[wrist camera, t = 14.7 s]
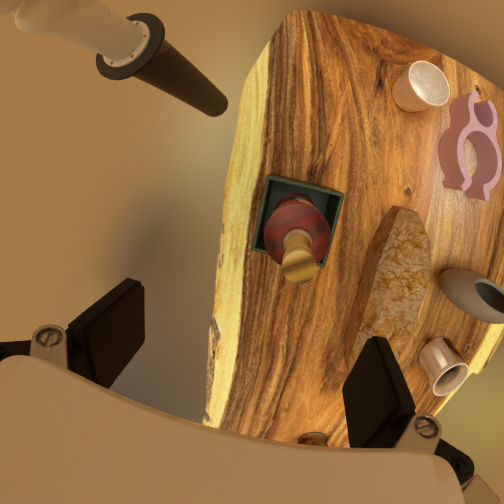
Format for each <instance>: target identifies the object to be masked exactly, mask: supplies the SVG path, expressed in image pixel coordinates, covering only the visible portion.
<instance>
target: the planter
mask: <svg viewBox="0 0 504 504" xmlns="http://www.w3.org/2000/svg"><path fill="white" fill-rule="evenodd" d="M439 285H440V288H441V290H442V291H443V293H444V294H445V296H446V297H447V298H448V299H449V300H450V301H451V302H452V303H453V304H454V305H455V306H457V307H458V308H459V309H461V310H462V311H464V312H465V313H467V314H469V315H470V316H472V317H474V318H476V319H479V320H481V321H484V322H487V323H492V324H502V323H504V290H503V289H502V288H501V287H500V286H499V285H497V284H496V283H494V282H493V281H491V280H490V279H488V278H486V277H484V276H482V275H480V274H478V273H475V272H473V271H469V270H465V269H448V270H446V271H444V272H442V273H441V274H440V276H439Z"/></svg>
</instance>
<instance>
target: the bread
mask: <svg viewBox="0 0 504 504" xmlns="http://www.w3.org/2000/svg"><path fill="white" fill-rule="evenodd" d="M430 275H431V254H430V242H429V238H428V236H427V233H426V231H425V228H424V226H423V224H422V221H421V219H420V217H419V214H418V213H417V212H415V211H412V210H410V209H405V208H400V207H396V206H392V208H391V209H390V211H389V212H388V214H387V215H386V217H385V218H384V220H383V221H382V223H381V224H380V226H379V228H378V230H377V232H376V234H375V236H374V238H373V240H372V242H371V244H370V246H369V248H368V250H367V254H366V259H365V263H364V267H363V272H362V276H361V280H360V284H359V288H358V292H357V295H356V299H355V303H354V306H353V310H352V314H351V317H350V320H349V324H348V327H347V330H346V334H345V361H346V366H347V371H348V373H350V372H351V370H352V368H353V366H354V364H355V362H356V360H357V358H358V357H359V355H360V353H361V351H362V349H363V347H364V344H365V342H366V341H367V339H369V338H370V339H371V337H372V336H380V337H385V338H387V340H388V342H389V344H390V346H391V349H392V351H393V353H394V355H395V358H396V360H397V361H398V360H399V358H400V356H401V353H402V351H403V349H404V347H405V344H406V342H407V340H408V337H409V335H410V333H411V330H412V328H413V325H414V322H415V320H416V317H417V315H418V312H419V309H420V306H421V303H422V301H423V298H424V295H425V292H426V288H427V285H428V282H429V279H430Z"/></svg>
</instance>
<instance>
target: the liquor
mask: <svg viewBox="0 0 504 504" xmlns="http://www.w3.org/2000/svg"><path fill="white" fill-rule="evenodd" d="M330 242H331V231H330V227H329V224H328V222H327V220H326V219H325V217H324V216H323V215H322V214H321V213H320V212H319V211H318V210H317V209H316V208H315V205H314V203H313V201H312V200H311V199H310V198H309V197H308V196H307V195H305V194H303V193H299V192H292V193H288V194H286V195H284V196H283V197H282V198H281V199H280V200H279V202H278V203H277V206H276V210H275V211H274V213H273V214H272V216H271V217H270V218H269V220H268V222H267V223H266V226H265V229H264V244H265V247H266V250H267V252H268V253H269V255H270V256H271V257H272V259H273V260H274V261H276V262H277V263H278V264H280V265H281V266H282V272H283V274H284V276H285V277H286V278H287V279H288V280H289V281H291V282H293V283H298V284H300V283H305V282H308V281H309V280H311V279H312V278H313V276H314V275H315V273H316V269H317V263H318V262H320V261H321V260H322V258H323V257H324V256H325V255H326V253H327V252H328V249H329V247H330Z"/></svg>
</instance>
